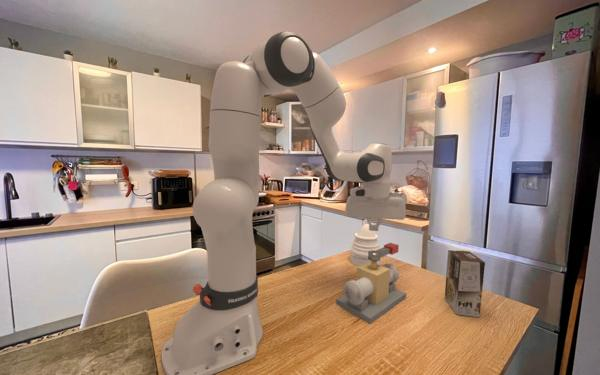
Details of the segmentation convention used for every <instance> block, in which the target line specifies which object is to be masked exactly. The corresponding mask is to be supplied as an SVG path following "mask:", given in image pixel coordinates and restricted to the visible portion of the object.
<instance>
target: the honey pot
mask: <svg viewBox="0 0 600 375" xmlns="http://www.w3.org/2000/svg"><path fill="white" fill-rule="evenodd" d="M371 221H372V220H371ZM371 221H370V223H372V222H371ZM375 232H376V231H370V230H369V224H368V222H367V220H366V219H364V224H363V225H362V226H361V227H360V228H359V229H358V231H357V232H355V233H354V240H353V242H352V244H351V247H350V257H349V258H350V260H349V261H350V263H351V264H353V265H354V266H356V267H359V266H362V265H364V264H366V263H368V262H371V260H369V259H368V251H371V250H374V251H376V250H378V249H381V247H380V242H379V241H378V238H379V235H378V234H376V233H375ZM381 263H382V257H381V258H380V261H377V264H378V265H380V266H382V265H381Z"/></svg>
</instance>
